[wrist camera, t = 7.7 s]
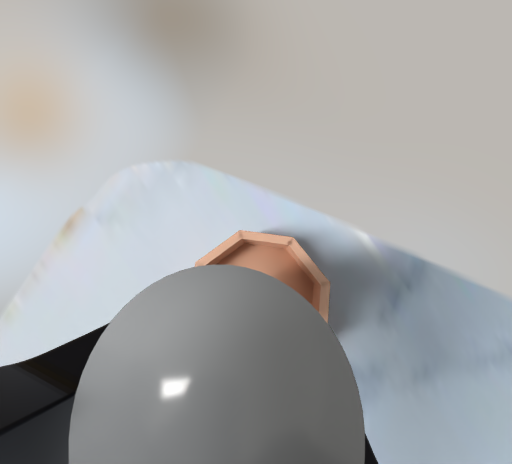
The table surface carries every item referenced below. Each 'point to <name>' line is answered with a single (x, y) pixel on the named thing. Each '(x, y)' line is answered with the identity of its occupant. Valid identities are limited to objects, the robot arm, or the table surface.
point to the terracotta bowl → (275, 263)
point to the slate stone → (217, 378)
